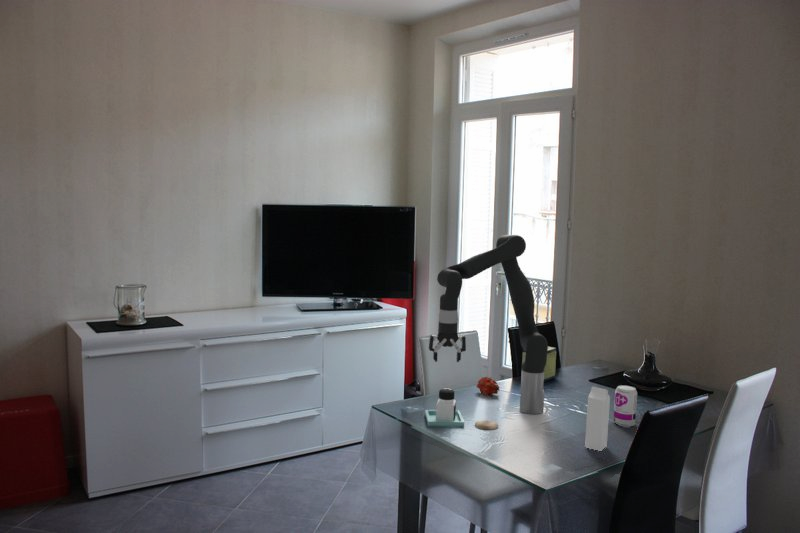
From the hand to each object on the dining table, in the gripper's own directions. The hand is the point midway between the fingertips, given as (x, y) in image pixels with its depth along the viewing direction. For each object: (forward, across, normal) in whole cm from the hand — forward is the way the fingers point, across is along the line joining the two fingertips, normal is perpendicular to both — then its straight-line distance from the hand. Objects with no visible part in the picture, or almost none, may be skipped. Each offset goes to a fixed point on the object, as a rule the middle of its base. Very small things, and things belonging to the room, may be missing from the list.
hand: (446, 361), depth 259 cm
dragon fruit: (+24, -24, -36) cm, 49 cm away
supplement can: (+24, -72, +1) cm, 76 cm away
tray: (+24, 0, 0) cm, 24 cm away
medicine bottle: (+24, 0, 0) cm, 24 cm away
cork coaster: (+24, -16, +5) cm, 29 cm away
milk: (+24, -52, +26) cm, 63 cm away
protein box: (+24, -54, -63) cm, 86 cm away
